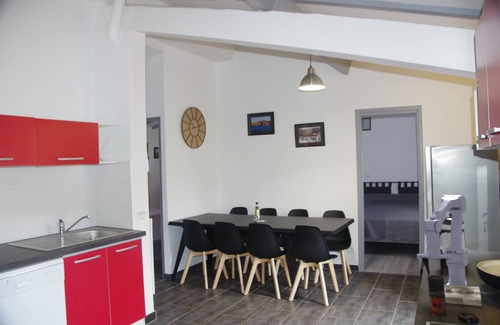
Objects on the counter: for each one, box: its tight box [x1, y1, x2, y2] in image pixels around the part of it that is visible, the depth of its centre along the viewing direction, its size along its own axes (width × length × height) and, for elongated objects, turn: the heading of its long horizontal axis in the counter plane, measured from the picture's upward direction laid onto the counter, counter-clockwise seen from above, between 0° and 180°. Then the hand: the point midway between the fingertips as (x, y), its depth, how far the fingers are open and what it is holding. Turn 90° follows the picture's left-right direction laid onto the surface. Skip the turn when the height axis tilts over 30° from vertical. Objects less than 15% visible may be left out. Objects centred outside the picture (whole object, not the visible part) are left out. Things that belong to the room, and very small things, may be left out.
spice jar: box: [427, 274, 447, 318], centre depth 162 cm, size 6×6×15 cm
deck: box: [444, 284, 482, 307], centre depth 178 cm, size 18×17×2 cm
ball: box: [444, 283, 452, 291], centre depth 180 cm, size 3×3×3 cm
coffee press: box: [439, 212, 470, 266], centre depth 230 cm, size 17×16×30 cm
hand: (435, 274), depth 183 cm, fingers open, 5 cm apart
